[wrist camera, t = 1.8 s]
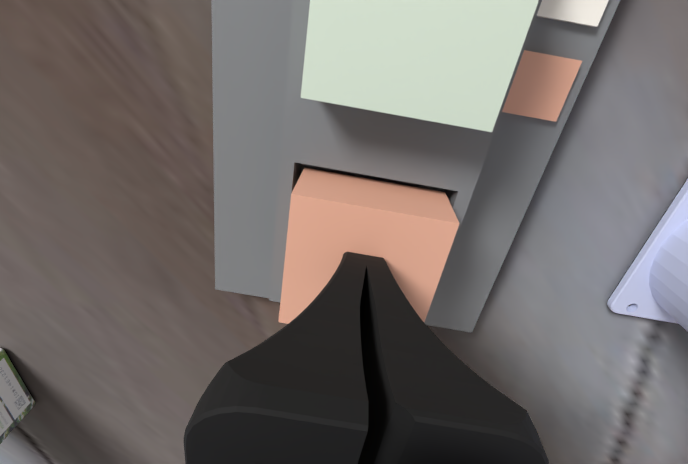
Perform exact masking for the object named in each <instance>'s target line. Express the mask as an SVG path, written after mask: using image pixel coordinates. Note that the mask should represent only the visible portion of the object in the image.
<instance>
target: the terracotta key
mask: <svg viewBox="0 0 688 464" xmlns="http://www.w3.org/2000/svg"><path fill="white" fill-rule="evenodd" d="M459 224H460V223H459V221H458V219H457V217H456V215H455V213H454V210H453V208H452V206H451V204H450V202H449V200H448V197H447V195H446V193H445V192H441V191H435V190H429V189H424V188H418V187H412V186H407V185H401V184H395V183H390V182H384V181H378V180H373V179H367V178H361V177H356V176H350V175H344V174H339V173H333V172H327V171H322V170H316V169H311V168H305V167H304V169H303V171H302V173H301V175H300V177H299V179H298V181H297V183H296V185H295V187H294V189H293V191H292V193H291V200H290V210H289V221H288V231H287V241H286V251H285V261H284V272H283V282H282V292H281V302H280V312H279V322H281V323H287V324H289V323H290V322H291V321H292V320H293V319H295V318H296V317H297V316H298V315H299V314H300V313H301V312H302V311H303V310H304V309H305V308H307V307H308V305H309V304H310V303H311V302H312V301H313V300H314V299H315V298H316V297H317V296H318V294H319V293H320V292H321V291H322V290H323V288H324V287H325V286H326V285H327V283H328V282H329V280H330V279H331V277H332V276H333V274H334V273H335V271H336V270H337V268H338V266H339V264H340V262H341V260H342V257H343V254H344V253H345V252H353V253H359V254H364V255H370V256H376V257H382V258H384V260H385V261H386V263H387V265H388V267H389V269H390V271H391V273H392V275H393V276H394V278H395V280H396V282H397V284H398V285H399V287H400V289H401V290H402V292H403V293H404V295H405V297H406V298H407V300H408V301H409V303H410V304H411V306H412V307H413V309H414V310H415V311H416V313H417V314H418V316H419V317H420V318H421V319H422V321H423V322H425V319H426V316H427V314H428V311H429V308H430V305H431V302H432V300H433V297H434V294H435V291H436V288H437V286H438V283H439V280H440V277H441V274H442V271H443V269H444V266H445V263H446V260H447V257H448V255H449V252H450V249H451V246H452V243H453V241H454V238H455V235H456V232H457V229H458V226H459Z"/></svg>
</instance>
